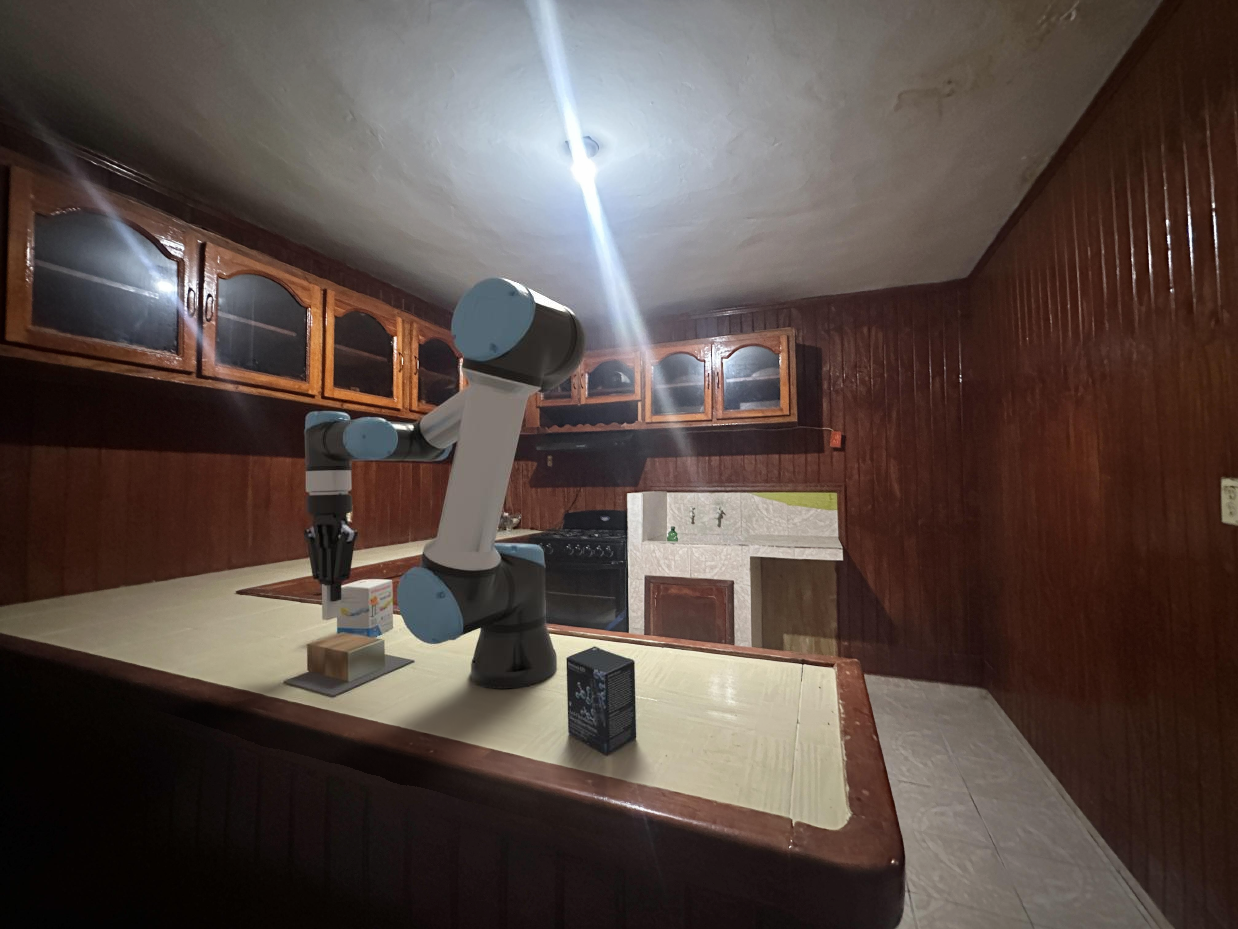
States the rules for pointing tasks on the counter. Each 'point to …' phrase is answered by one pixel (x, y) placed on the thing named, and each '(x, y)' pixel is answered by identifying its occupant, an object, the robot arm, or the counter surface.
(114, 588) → the counter surface
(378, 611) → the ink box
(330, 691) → the mat
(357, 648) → the block
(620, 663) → the box
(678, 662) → the counter surface
